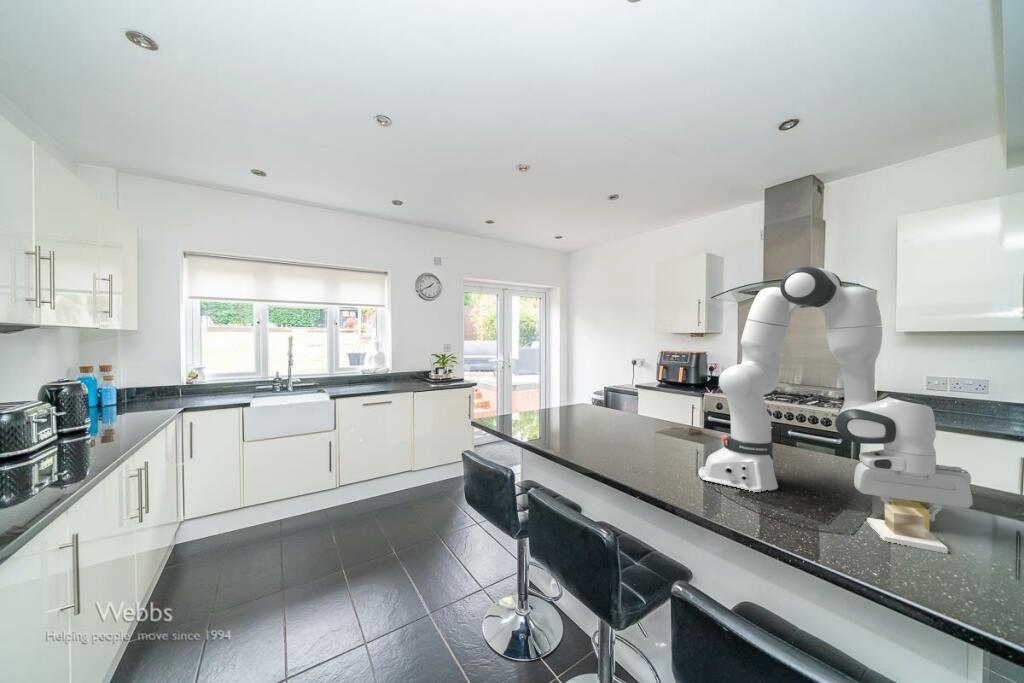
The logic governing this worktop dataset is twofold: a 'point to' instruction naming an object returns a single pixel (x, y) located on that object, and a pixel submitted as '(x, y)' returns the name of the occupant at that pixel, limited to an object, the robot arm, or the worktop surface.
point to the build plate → (889, 536)
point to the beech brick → (905, 521)
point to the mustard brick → (916, 506)
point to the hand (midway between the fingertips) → (909, 516)
